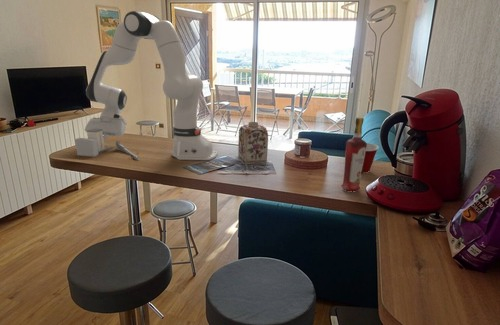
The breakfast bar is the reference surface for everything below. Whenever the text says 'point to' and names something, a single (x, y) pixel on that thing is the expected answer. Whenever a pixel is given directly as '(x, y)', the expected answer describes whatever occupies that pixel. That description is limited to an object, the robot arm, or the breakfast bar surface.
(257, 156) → the decorative jar
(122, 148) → the caliper
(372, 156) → the plastic cup
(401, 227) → the breakfast bar surface
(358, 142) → the liquor
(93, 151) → the grey holder
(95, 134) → the cream rectangular box
